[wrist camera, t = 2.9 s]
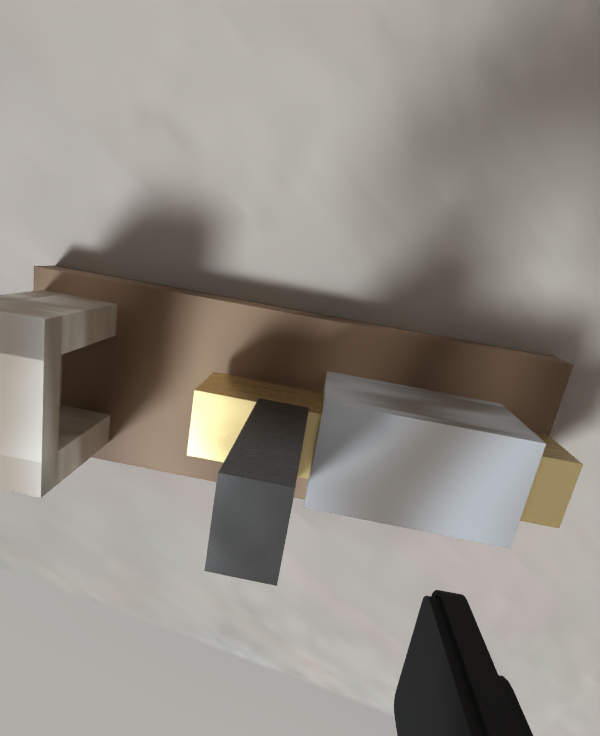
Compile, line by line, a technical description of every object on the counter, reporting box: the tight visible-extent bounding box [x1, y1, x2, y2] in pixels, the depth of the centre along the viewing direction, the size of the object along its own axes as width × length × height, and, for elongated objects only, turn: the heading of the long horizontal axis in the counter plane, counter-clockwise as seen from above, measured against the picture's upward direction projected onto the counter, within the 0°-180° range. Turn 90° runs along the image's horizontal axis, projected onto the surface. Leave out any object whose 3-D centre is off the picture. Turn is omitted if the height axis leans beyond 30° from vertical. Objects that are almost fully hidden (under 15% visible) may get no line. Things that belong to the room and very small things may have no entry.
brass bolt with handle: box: [187, 372, 583, 586], centre depth 16 cm, size 15×3×9 cm, turn 80°
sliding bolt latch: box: [0, 266, 573, 548], centre depth 19 cm, size 24×9×7 cm, turn 80°
